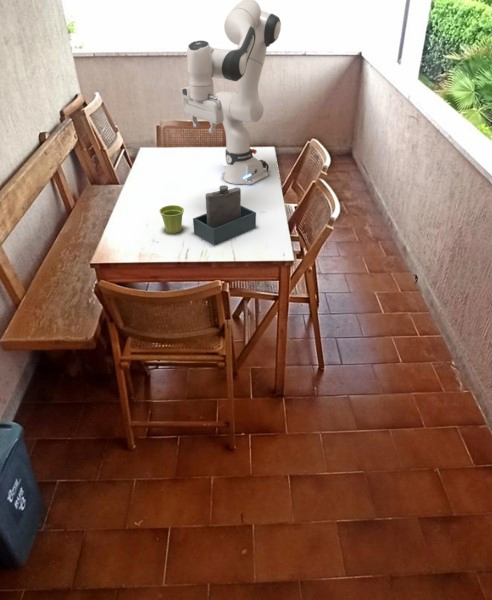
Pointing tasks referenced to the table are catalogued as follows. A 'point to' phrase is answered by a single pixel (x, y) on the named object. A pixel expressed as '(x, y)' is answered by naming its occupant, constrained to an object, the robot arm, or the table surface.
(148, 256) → the table surface
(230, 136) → the robot arm
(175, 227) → the plant pot
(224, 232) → the tote
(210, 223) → the flask
